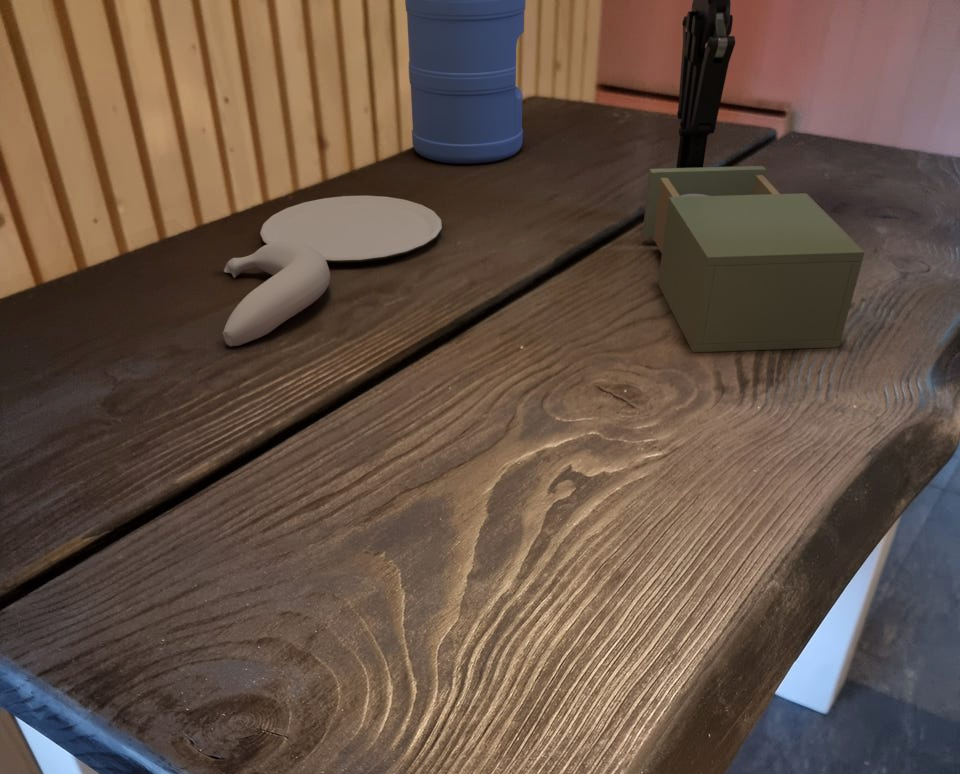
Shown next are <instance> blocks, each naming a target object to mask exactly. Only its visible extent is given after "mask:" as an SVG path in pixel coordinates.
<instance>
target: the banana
mask: <svg viewBox="0 0 960 774" xmlns="http://www.w3.org/2000/svg"><path fill="white" fill-rule="evenodd" d="M253 269H257V270H260V271H263V272H264V273H267V274H269V275H271V277H270V278H268V279H266V280H265V281H263V282H262V283H261V284H260V285H258V286H257V287H255V288H254V289H253V290H252V291H250V292H249V293H248V294H247V295H246V296H245V297H244V298H243V299H241V300H240V302H239V303H238V304H237V306H236V307H235V308H234V309H233V310H232V312H231V314H230V315H229V317H228V318H227V321H226V323H225V326H224V329H223V331H222V332H221V333H222V336H223V340H224V342H225V344H226V345H227V346H229V347H230V348H231V347H238V346H242V345H244V344H247V343H249V342H252V341H254V340H257V339H260V338H262V337H264V336H266V335H268V334H270V333H271V332H272V331H274V330H275V329H277V328H278V327H280V326H281V325H282V324H284V323H285V322H287V320H289V319H291V318H293V317H294V316H296V315H298V314H299V313H300V312H302V311H303V310H305V309H307V308H308V307H309V306H311V305H312V304H314V303H315V302H316V301H317V300H318V299H320V298H321V297H322V296H323V295H324V293H326V290H327V289H328V287H329V285H330V280H331V271H330V268H329V265H328V262H326V260H325V258H324V257H323V256H322V255H321V253H319V252H318V251H317V250H315V249H313V248H311V247H309V246H307V245H305V244H302V243H298V242H294V241H277V242H273V243H270V244H267V245H266V244H265V245H263V246H261V247H260V248H259V249H257V250H256V251H254V252H253V253H252V254H250V255H246V256H242V257H233V258H230V259H229V260H228V261H227V262H226V264H225V266H224V269H223V272H224V273H225V274H231V275H232V277H233V279H236V277H237V276H239V275H241V273H244V272H246V271H249V270H253Z"/></svg>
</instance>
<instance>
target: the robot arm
mask: <svg viewBox="0 0 960 774" xmlns="http://www.w3.org/2000/svg"><path fill="white" fill-rule="evenodd" d="M731 3H732V2H731V0H692V3H691V10H690V11H689V10H688V11H687V13H686V15H685V16H683V20H682V24H681V25H682V49H681V64H680V65H681V66H680V77H679V91H678V106H677V108H678V109H677V113H676V116H677V119H678V120H680V122H679V127H680V128H679V129H678V136H679V143H678V151H677V161H676V167H675V168H702V167H704V163H705V157H706V149H707V142H708V136H709V135H710V134H715V130H716V126H717V120H718V116H719V111H720V106H721V102H722V96H723V92H724V88H725V83H726V79H727V73H728V70H729V69H728V68H729V64H730V61H731V59H732V58H731V57H732V55H733V52H734V49H735V46H736V37H735V35H731V33H732V30H733V29H732V28H733V21H734V19H733V15H732V14H731V5H732V4H731Z"/></svg>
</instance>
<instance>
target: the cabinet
mask: <svg viewBox="0 0 960 774" xmlns="http://www.w3.org/2000/svg"><path fill="white" fill-rule="evenodd" d="M864 256H865V250H863V249H862V248H861V247H860V246H859V245H858V244H857V242H856V241H855V240H853V239H852V237H850V236H849V234H848V233H847V232H846V231H845V230H844V229H842V228H841V227H840V225H839V224H837V222H836V221H835V220H833V218H831V216H830V215H829V214H828V213H827V212H826V211H824V209H823V208H822V207H821V206H820V205H819V204H817V202H816V201H815V200H814V199H813V198H812V196H810V195H809V194H807V192H805V193H802V192H801V193H800V192H799V193H780V194H764V195H730V196H695V197H669V201H668V209H667V217H666V225H665V233H664V241H663V249H662V253H661V256H660V257H661V258H660V259H661V260H660V267H659V273H658V274H659V275H658V283H657V285H658V287H659V290H660V291H661V293H662V295H663V298H664V299H665V301H666V303H667V305H668V307H669V309H670V311H671V313H672V315H673V317H674V319H675V321H676V323H677V324H678V326H679V328H680V330H681V332H682V335H683V336H684V338H685V340H686V342H687V344H688V346H689V348H690V350H691V352H692V353H712V352H714V353H715V352H716V353H717V352H743V351H771V350H772V351H773V350H774V351H775V350H797V349H798V350H799V349H801V350H802V349H824V348H825V349H826V348H827V349H828V348H839V347H840V345H841V341H842V338H843V334H844V331H845V327H846V323H847V320H848V315H849V311H850V308H851V305H852V301H853V297H854V293H855V289H856V286H857V282H858V279H859V274H860V271H861V267H862V265H863V264H862V263H863V260H864Z"/></svg>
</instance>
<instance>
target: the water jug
mask: <svg viewBox="0 0 960 774" xmlns="http://www.w3.org/2000/svg"><path fill="white" fill-rule="evenodd" d="M526 2H527V1H526V0H404V4H405V5H404V6H405V12H406V19H407V20H406V23H407V40H408V42H407V43H408V44H407V45H408V79H409V80H408V81H409V84H410V99H411V118H412V130H411V139H412V141H411V142H412V143H411V144H412V147H413V149H414V151H415V152H416V153H417V154H418V155H420V157H423V158H425V159H427V160H430V161H434V162H438V163H445V164H451V165H452V164H453V165H479V164H480V165H481V164H488V163H489V164H490V163H494V162H498V161H502V160H505V159H508V158H511V157H513V156H514V155H516V154H517V153H518V152H519V151H520V150H521V148H522V146H523V140H524V139H523V138H524V137H523V136H524V130H523V129H524V128H523V92H522V91H521V89H520V88H519V87H518V86H517V84H516V83H517V82H516V81H517V46H518V40H519V38H520V36H521V35H522V34H524V32H525V10H526Z"/></svg>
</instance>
